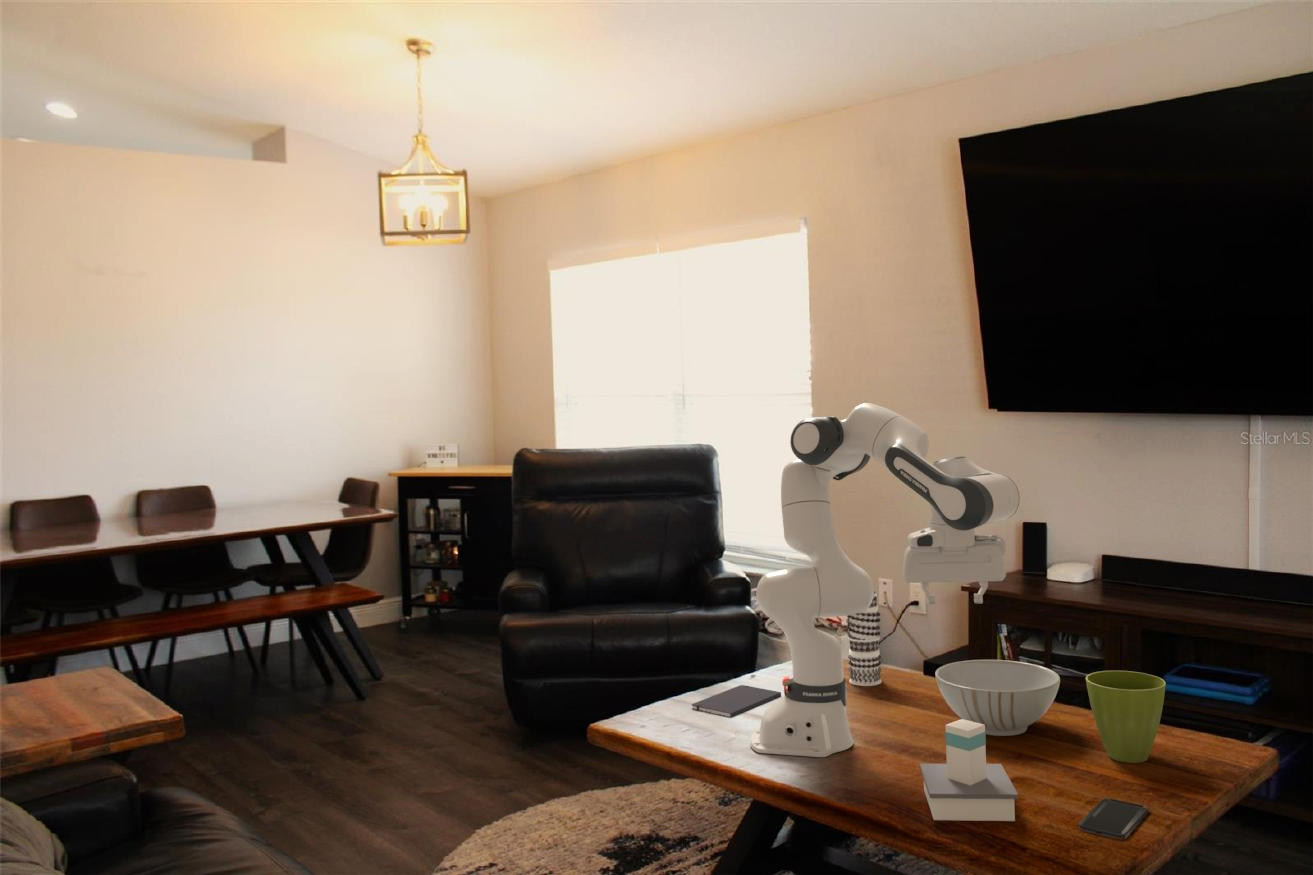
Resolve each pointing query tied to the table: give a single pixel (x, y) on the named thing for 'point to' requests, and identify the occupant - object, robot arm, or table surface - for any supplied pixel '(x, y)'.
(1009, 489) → the robot arm
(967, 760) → the carton
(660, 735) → the table surface
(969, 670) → the decorative bowl
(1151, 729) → the flower pot
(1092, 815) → the phone
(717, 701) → the notebook
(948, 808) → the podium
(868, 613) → the decorative candle
